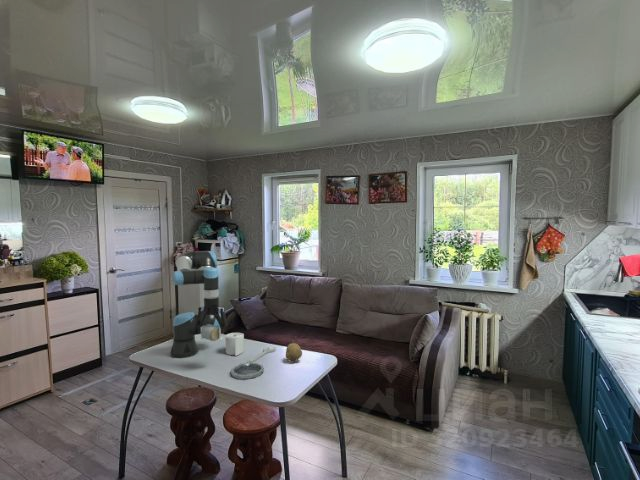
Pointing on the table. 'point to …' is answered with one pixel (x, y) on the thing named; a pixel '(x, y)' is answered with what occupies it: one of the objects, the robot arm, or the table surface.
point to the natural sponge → (293, 352)
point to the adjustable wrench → (262, 354)
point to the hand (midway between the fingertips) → (211, 339)
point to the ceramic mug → (210, 332)
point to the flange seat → (247, 371)
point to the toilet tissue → (234, 343)
